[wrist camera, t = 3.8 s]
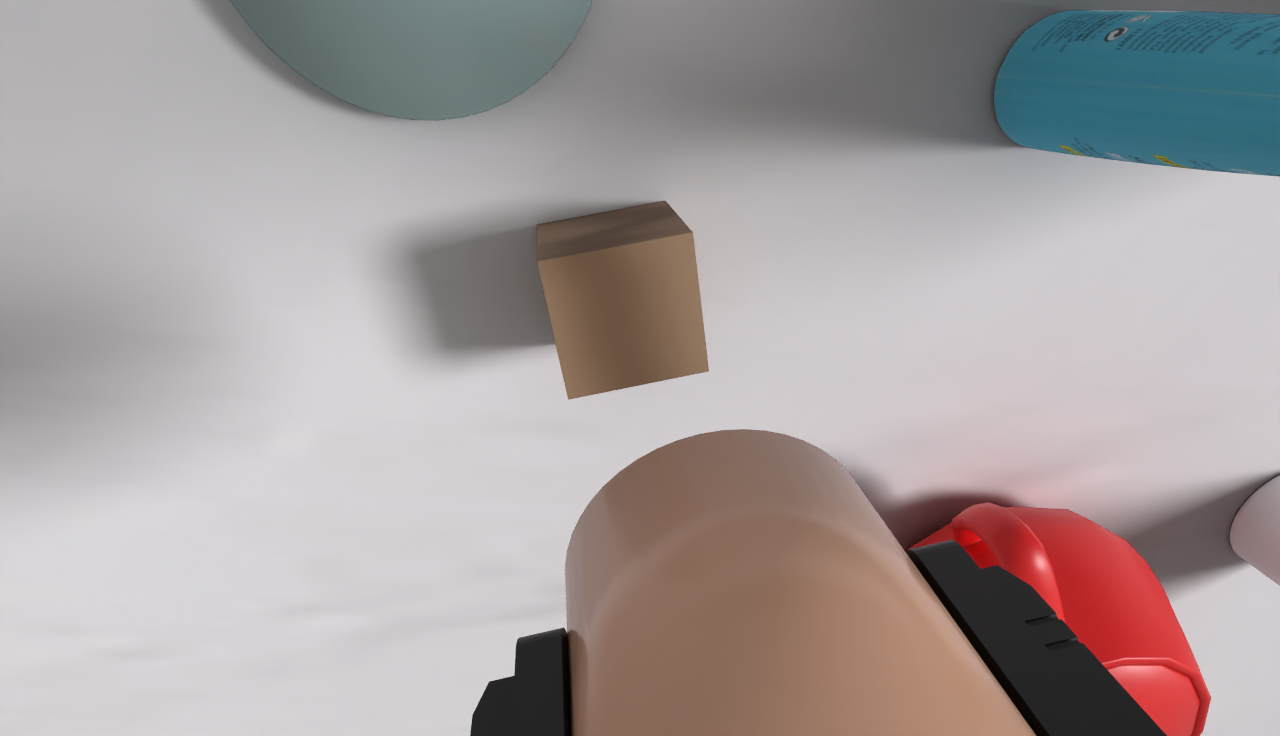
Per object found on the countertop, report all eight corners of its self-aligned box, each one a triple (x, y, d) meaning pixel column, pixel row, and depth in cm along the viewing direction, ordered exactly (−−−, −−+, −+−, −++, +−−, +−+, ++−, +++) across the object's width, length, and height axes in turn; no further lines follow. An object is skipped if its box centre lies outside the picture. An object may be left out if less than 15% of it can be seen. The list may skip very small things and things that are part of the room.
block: (664, 200, 26) (692, 232, 21) (680, 319, 28) (708, 371, 23) (536, 224, 25) (536, 261, 21) (563, 342, 28) (568, 399, 23)
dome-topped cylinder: (867, 396, 11) (1246, 811, 5) (873, 636, 13) (1131, 1099, 7) (529, 472, 11) (510, 996, 5) (600, 700, 13) (644, 1229, 7)
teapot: (769, 503, 33) (886, 729, 22) (1068, 366, 32) (1348, 532, 21) (893, 772, 44) (1011, 1011, 33) (1117, 677, 43) (1316, 891, 32)
